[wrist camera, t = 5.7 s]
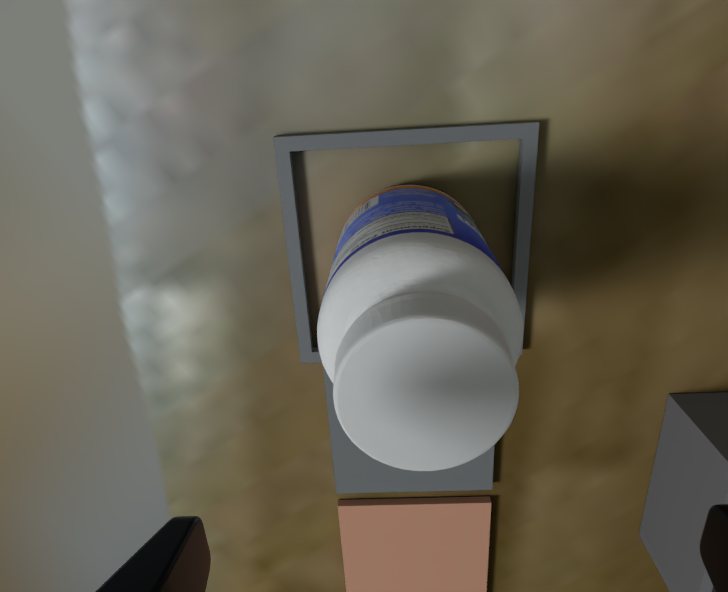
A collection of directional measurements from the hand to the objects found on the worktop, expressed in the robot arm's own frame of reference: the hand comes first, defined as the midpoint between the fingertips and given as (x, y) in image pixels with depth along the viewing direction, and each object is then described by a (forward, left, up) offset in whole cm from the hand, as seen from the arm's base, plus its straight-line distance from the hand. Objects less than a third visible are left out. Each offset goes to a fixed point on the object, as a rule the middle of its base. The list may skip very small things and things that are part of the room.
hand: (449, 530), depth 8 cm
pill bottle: (0, 0, -13) cm, 13 cm away
